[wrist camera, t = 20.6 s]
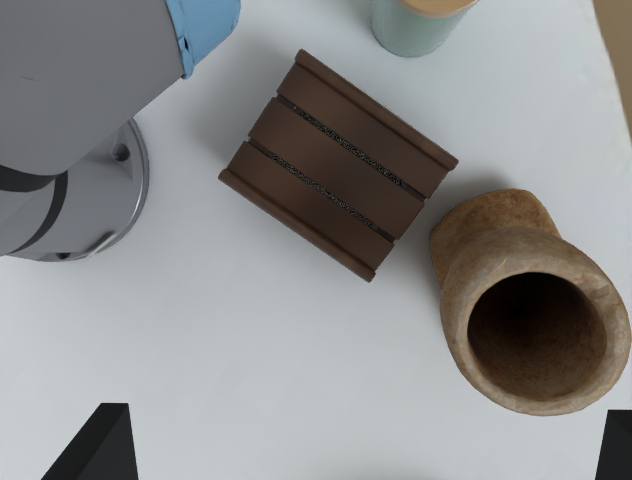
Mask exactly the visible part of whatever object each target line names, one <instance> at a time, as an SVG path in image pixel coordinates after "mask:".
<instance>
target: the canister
mask: <svg viewBox="0 0 632 480" xmlns="http://www.w3.org/2000/svg"><path fill="white" fill-rule="evenodd" d="M479 1H480V0H372V3H371V9H370V22H371V27H372V30H373V33H374V35H375V37H376V38H377V40H378V41H379V43H380V44H381V45H382V46H383V47H384V48H385V49H386V50H388V51H389V52H391V53H393V54H395V55H398V56H401V57H408V58H413V57H420V56H423V55H426V54H428V53H430V52H432V51H434V50H435V49H436V48H438V47H439V46H440V45H441V44H442V43H443V42H444V40H445V39H446V38H447V37H448V36H449V34H450V33H451V32H452V31H453V29H454V28H455V27H456V26H457V24H458V23H459V22H460V21H461V20H462V18H463V17H464V16H465V15H466V13H467V12H468V11H469V10H470V8H471V7H472V6H474V5H475V4H476V3H478V2H479Z"/></svg>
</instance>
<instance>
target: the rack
mask: <svg viewBox="0 0 632 480" xmlns="http://www.w3.org/2000/svg"><path fill="white" fill-rule="evenodd" d="M277 93H278V95H277V97H276V98H274V97H272V98H271V100H270V102H269V103H268V105H267V106H266V108H265V109H264V111H263V112H262V114H261V116H260V117H259V119H258V120H257V122H256V123H255V125H254V126H253V128H252V129H251V131H250V133H249V134H248V136H249V137H250V139H249V140H248V141H244V142H243V143H242V145H241V146H240V148H239V150H238V151H237V153H236V154H235V156H234V157H233V159H232V160H231V162H230V164H229V165H228V167H227V168H226V169H223V170H222V171H221V173H220V174H219V176H218V179H219V180H220V181H222V182H223V183H225V184H226V185H228V186H229V187H231V188H232V189H233V190H235V191H236V192H238V193H239V194H241V195H242V196H244V197H245V198H246V199H248V200H249V201H251V202H252V203H254V204H255V205H257V206H258V207H259V208H261V209H262V210H264V211H265V212H267V213H268V214H270V215H271V216H273V217H274V218H275V219H277V220H278V221H280V222H281V223H283V224H284V225H286V226H287V227H288V228H290V229H291V230H293V231H294V232H296V233H297V234H299V235H300V236H301V237H303V238H304V239H306V240H307V241H309V242H310V243H312V244H313V245H314V246H316V247H317V248H319V249H320V250H322V251H323V252H325V253H326V254H328V255H329V256H330V257H332V258H333V259H335V260H336V261H338V262H339V263H341V264H342V265H343V266H345V267H346V268H348V269H349V270H351V271H352V272H354V273H355V274H356V275H358V276H359V277H361V278H362V279H364V280H365V281H367V282H368V283H369V282H371V281H372V279H373V278H374V276H375V274H376V273H375V271H376V270H377V269H378V267H379V266H380V265H381V263H382V262H383V260H384V259H385V258H386V256H387V255H388V254H389V252H390V251H391V250H392V248H393V247H394V244H393V242H394V240H395V239H397V240H399V239H400V237H401V236H402V235H403V233H404V232H405V231H406V229H407V228H408V226H409V225H410V224H411V222H412V221H413V220H414V218H415V217H416V216H417V214H418V213H419V211H420V210H421V209H422V207H423V206H424V205H425V204H424V203H423V201H424V200H425V198H428V199H429V198H430V197H431V195H432V194H433V192H434V191H435V190H436V188H437V187H438V186H439V184H440V183H441V182H442V180H443V179H444V177H445V176H446V175H447V173H448V172H449V171H452V170H453V169H454V168H455V167H456V165H457V164H458V162H459V160H458V159H456V158H455V157H454V156H452V155H451V154H449V153H448V152H447V151H445V150H444V149H442V148H441V147H440V146H438V145H437V144H435V143H434V142H433V141H431V140H430V139H428V138H427V137H426V136H424V135H423V134H421V133H420V132H419V131H417V130H416V129H414V128H413V127H411V126H410V125H409V124H407V123H406V122H404V121H403V120H402V119H400V118H399V117H397V116H396V115H395V114H393V113H392V112H390V111H389V110H388V109H386V108H385V107H383V106H382V105H381V104H379V103H378V102H376V101H375V100H374V99H372V98H371V97H369V96H368V95H367V94H365V93H364V92H362V91H361V90H360V89H358V88H357V87H355V86H354V85H353V84H351V83H350V82H348V81H347V80H345V79H344V78H343V77H341V76H340V75H338V74H337V73H336V72H334V71H333V70H331V69H330V68H329V67H327V66H326V65H324V64H323V63H322V62H320V61H319V60H317V59H316V58H315V57H313V56H312V55H310V54H309V53H308V52H306V51H305V50H303V49H300V50H299V52H298V53H297V55H296V57H295V63H294V64H293V66H292V67H291V69H290V71H289V72H288V74H287V75H286V77H285V78H284V80H283V81H282V83H281V85H280V86H279V88H278V89H277ZM302 111H303V112H304V113H306V114H307V115H309V116H310V117H312V118H313V119H314V120H316V121H317V122H319V123H320V124H321V125H323V126H324V127H326V128H327V129H329V130H330V131H331V132H333V133H334V134H336V135H337V136H338V137H340V138H341V139H343V140H344V141H346V142H347V143H348V144H350V145H351V146H353V147H354V148H356V149H357V150H358V151H360V152H361V153H363V154H364V155H365V156H367V157H368V158H370V159H371V160H373V161H374V162H375V163H377V164H378V165H380V166H381V167H382V168H384V169H385V170H387V171H388V172H390V173H391V174H392V175H394V176H395V177H397V178H398V179H399V180H401V181H402V183H401V185H400V186H399V185H398V184H396V183H395V182H394V181H392V180H391V179H389V178H388V177H386V176H385V175H384V174H382V173H381V172H379V171H378V170H376V169H375V168H374V167H372V166H371V165H369V164H368V163H367V162H365V161H364V160H362V159H361V158H359V157H358V156H357V155H355V154H354V153H352V152H351V151H349V150H348V149H347V148H345V147H344V146H342V145H341V144H340V143H338V142H337V141H335V140H334V139H332V138H331V137H330V136H328V135H327V134H325V133H324V132H323V131H321V130H320V129H318V128H317V127H315V126H314V125H313V124H311V123H310V122H308V121H307V120H305V119H304V118H303V117H301V116H300V114H301V112H302ZM274 154H275V155H276V156H278V157H279V158H281V159H282V160H283V161H285V162H286V163H288V164H289V165H291V166H292V167H294V168H295V169H296V170H298V171H299V172H301V173H302V174H304V175H305V176H306V177H308V178H309V179H311V180H312V181H314V182H315V183H316V184H318V185H319V186H321V187H322V188H324V189H325V190H326V191H328V192H329V193H331V194H332V195H334V196H335V197H337V198H338V199H339V200H341V201H342V202H344V203H345V204H347V205H348V206H349V207H351V208H352V209H354V210H355V211H357V212H358V213H359V214H361V215H362V216H364V217H365V218H367V219H368V220H369V221H371V222H372V223H373V224H372V225H371V226H369V225H367V224H366V223H364V222H363V221H361V220H360V219H359V218H357V217H356V216H354V215H353V214H351V213H350V212H348V211H347V210H346V209H344V208H343V207H341V206H340V205H338V204H337V203H336V202H334V201H333V200H331V199H330V198H328V197H327V196H326V195H324V194H323V193H321V192H320V191H318V190H317V189H315V188H314V187H313V186H311V185H310V184H308V183H307V182H305V181H304V180H303V179H301V178H300V177H298V176H297V175H295V174H294V173H293V172H291V171H290V170H288V169H287V168H285V167H284V166H282V165H281V164H280V163H278V162H277V161H275V160H274V159H272V156H273V155H274Z"/></svg>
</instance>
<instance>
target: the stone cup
mask: <svg viewBox="0 0 632 480" xmlns="http://www.w3.org/2000/svg"><path fill="white" fill-rule="evenodd" d="M430 251H431V256H432V261H433V265H434V269H435V273H436V276H437V279H438V282H439V284H440V287H441V289H442V292H441V299H440V314H441V321H442V326H443V331H444V334H445V338H446V341H447V344H448V347H449V350H450V352H451V354H452V356H453V358H454V361H455V363H456V365H457V367H458V369H459V370H460V372H461V373H462V375H463V376H464V377H465V378H466V379H467V380H468V381H469V382H470V384H471V385H472V386H473V387H474V388H475V389H477V390H478V391H479V392H481V393H482V394H483V395H485V396H486V397H487V398H489V399H490V400H491V401H493V402H495V403H496V404H498V405H500V406H502V407H504V408H506V409H509V410H512V411H515V412H518V413H523V414H528V415H534V416H556V415H563V414H569V413H573V412H576V411H579V410H582V409H584V408H586V407H587V406H589V405H591V404H592V403H594V402H596V401H597V400H599V399H600V398H601V397H602V396H603V395H605V394H606V393H607V392H608V391H609V390H611V389H612V387H613V386H614V385H615V383H616V382H617V381H618V379H619V378H620V376H621V374H622V372H623V370H624V368H625V366H626V364H627V361H628V357H629V352H630V347H631V342H632V337H631V328H630V323H629V318H628V313H627V311H626V308H625V306H624V303H623V301H622V298H621V296H620V295H619V293H618V291H617V290H616V288H615V287H614V285H613V283H612V282H611V280H610V279H609V278H608V277H607V276H606V274H605V273H604V272H603V271H602V270H601V268H600V267H599V266H598V265H597V264H596V263H595V262H594V261H593V260H592V259H591V258H589V257H588V256H587V255H586V254H584V253H583V252H582V251H580V250H579V249H577V248H576V247H575V246H573V245H571V244H570V243H568V242H566V241H564V240H563V239H562V238H561V236H560V234H559V232H558V230H557V228H556V226H555V224H554V222H553V221H552V219H551V217H550V215H549V214H548V212H547V210H546V209H545V207H544V206H543V205H542V203H541V202H540V201H539V200H538V199H537V198H536V197H535V196H534V195H533V194H532V193H531V192H529V191H526V190H519V189H505V190H499V191H494V192H490V193H486V194H483V195H479V196H477V197H475V198H472V199H470V200H468V201H466V202H464V203H462V204H461V205H459V206H457V207H456V208H454V209H452V210H451V211H450V212H448V213H447V214H446V215H445V216H444V217H443V219H442V221H441V222H440V224H439V225H437V226H436V227H435V228H434V229H433V230H432V232H431V236H430Z"/></svg>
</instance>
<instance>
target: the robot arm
mask: <svg viewBox="0 0 632 480" xmlns="http://www.w3.org/2000/svg"><path fill="white" fill-rule="evenodd" d="M240 9H241V3H240V0H0V256H3V255H8V256H13V257H19V258H25V259H30V260H36V261H44V262H61V261H70V260H76V259H81V258H84V257H86V258H88V257H91V256H92V255H93V254H96V253H99V252H101V251H103V250H105V249H107V248H109V247H110V246H112V245H113V244H115V243H116V242H117V241H119V240H120V239H121V238H122V237H123V236H124V235H125V234H126V233H127V232H128V231H129V230H130V229H131V227H132V226H133V225H134V223H135V222H136V220H137V218H138V217H139V215H140V213H141V211H142V208H143V206H144V203H145V200H146V196H147V192H148V185H149V161H148V155H147V150H146V147H145V143H144V140H143V138H142V135H141V133H140V131H139V129H138V126H137V124H136V123H135V121H134V120H133V118H132V116H134V115H135V114H136V113H137V112H139V111H140V110H141V109H142V108H144V107H145V106H146V105H147V104H148V103H150V102H151V101H152V100H153V99H155V98H156V97H157V96H158V95H160V94H161V93H162V92H163V91H164V90H166V89H167V88H168V87H169V86H171V85H172V84H173V83H174V82H175V81H177V80H178V79H179V78H180V77H181V78H182V79H183V80H186V79H188V78H189V77H190V76H191V75H192V73H193V70H194V66H196V65H197V64H198V63H199V62H200V61H201V60H202V59H203V58H205V57H206V56H207V55H208V54H209V53H210V52H211V51H212V50H214V49H215V48H216V47H217V46H218V45H219V44H220V43H221V42H222V41H224V40H225V39H226V38H227V37H228V36H229V35H230V34H231V33H232V31H233V30H234V28H235V27H236V25H237V22H238V18H239V13H240ZM41 480H138V472H137V465H136V457H135V450H134V442H133V435H132V428H131V420H130V413H129V405H128V403H101V404H100V405H99V406H98V408H97V409H96V410H95V411H94V413H93V414H92V415H91V417H90V418H89V419H88V420H87V422H86V423H85V424H84V425H83V427H82V428H81V429H80V431H79V432H78V433H77V434H76V436H75V437H74V438H73V439H72V441H71V442H70V443H69V445H68V446H67V447H66V448H65V450H64V451H63V452H62V453H61V455H60V456H59V457H58V459H57V460H56V461H55V462H54V464H53V465H52V466H51V467H50V469H49V470H48V471H47V472H46V474H45V475H44V476H43V478H42V479H41ZM595 480H632V410H608V413H607V418H606V424H605V429H604V434H603V440H602V445H601V450H600V456H599V461H598V466H597V472H596V477H595Z"/></svg>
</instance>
